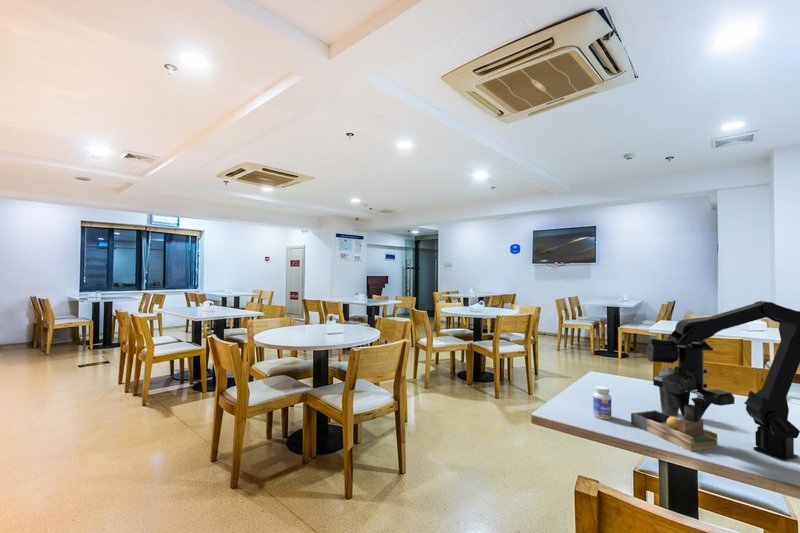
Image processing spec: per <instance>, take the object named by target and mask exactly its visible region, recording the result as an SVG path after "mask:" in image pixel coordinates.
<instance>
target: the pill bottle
mask: <svg viewBox="0 0 800 533" xmlns="http://www.w3.org/2000/svg"><path fill="white" fill-rule="evenodd" d="M609 393H610V388H609V387H607V386H605V385H604V386H603V385H596V386H595V392H594V393H593V396H592V398H593V399H592V400H593V402H592V403H593V404H592V406H593V407H592V410H593V411H592V413H593V414H592V415H593V416H594V417H596V418H597V419H601V420H610V419H611V418H612V395H611V394H609Z"/></svg>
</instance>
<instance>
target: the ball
mask: <svg viewBox="0 0 800 533" xmlns="http://www.w3.org/2000/svg"><path fill="white" fill-rule="evenodd" d="M679 419H680V418H677V417H676V416H672V417H669V418H668V419H667V425H668V426H669V427H670V428H672V429H674V430H677V429H678V420H679Z"/></svg>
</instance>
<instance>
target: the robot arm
mask: <svg viewBox="0 0 800 533" xmlns="http://www.w3.org/2000/svg"><path fill="white" fill-rule="evenodd" d="M765 318H766V319H768V320H771V321H772V322H776V323H779V324H778V332H779V338H780V342H779V344H778V347H777V349H776V352H775V354H774V357H773V360H772V363H771V365H770V367H769V370H768V373H767V376H766V378H765V380H764V382H763V385H762V388H761V389H759V390H758V391H757V392H754V391H752V390H750V391H749V392H748V396H747V399H746V400H745V402H744V403H743V404H744V405H745V406H746V407H745V411H746V412H747V414H748V416H750V417H751V418H752V419H753V422H754V423H755V424H756V425H758V426H757V428H756V429H757V430H756V431H755V437H754V438H755V441H754V443H755V446H753V448H752V449H753V450H755V451H757V452H760V453H762V454H765V455H767V456H770V457H771V458H772V457H773V458H775V459H778V460H779V461H780V460H781V461H787V460H792V459H797V458H799V456H798V454H795V445H794V444H795V442H794V441H795V439H798V438H799V434H800V430H799V429H798V427H796V426H795V425H794V424H793V423H792V422H790V421H789V420H788V419H789V414H790V409H789V404H788V399H787V398H788V397H787V396H788V395H789V392H790V389H791V387H792V384H793V382H794V380H795V377H796V374H797V372H798V369H799V366H800V311H799V310H795V309H792V308H789V307H786V306H781V305H780V304H776V303H774V302H771V301H766V300H765V301H764V300H760V301H759V300H758V301H756V302H753V303H750V304H748V305H745V306H740V307H738V308H735V309H731V310H729V311H728V310H727V311H725V312H720V313H718V314H715V315H712V316H706V317H705V316H704V317H692V318H686V319H681V320H679V321H678V322H677V323H676V324H675V329H674V330H673V331H672V332H671V333H670V334H669V336H668V337H667V338H666V339H662V338H661V339H659V338H655V337H649V342H648V344H647V347H646V357H647V359H648V360H647V361H649V362H651V363H663V364H666V363H668V364H674V363H675V362H677V366H676V365H675V366H674V368H673V369H674V373H673V374H669V375H661V376H658V375H656V376H654V377H653V379H652V382H653V384H652V385H653V386H655V387H658V388H659V387H661V388H663V387H664V389H665V390H666V391H667V392H669V393H670V394H672V395H673V396H674V397H675V399H676V401H677V404H678V406H679V412H680V414H681V416H682V418H684V404H690V396H691V393H692V394H695V395H696V397H692V398H691V401H692V402H693V405H694V418H695V421H696V422H699V421H700V419H702V417H703V416H704V414H705V413H706V411H707V409H708V408H710V406H711V405H715V406H728V405H729V406H730V405H735V396H734V395H733V393H732V392H730V391H726V390H722V389H719V388H715V389H707V387H708V383H705V382H704V380H705V379H704V378H705V377H704V374H707V373H708V370H707V369H706V368H704V364H705V363H704V361H705V360H704V353H705V352H704V351H712V352H713V351H714V348H713V347H711V346H710V345H709V344H708V342H707V341H705V340H708V339H710V338H712V337H713V336H715V335H716V334H717V333H719V332H721V331H724V330H727V329H731V328H735V327H738V326H742V325H744V324H747V323H751V322H755V321H759V320H761V319H765Z"/></svg>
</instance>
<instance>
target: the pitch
mask: <svg viewBox="0 0 800 533" xmlns="http://www.w3.org/2000/svg"><path fill="white" fill-rule="evenodd" d="M670 417H673V416H670ZM678 419H679V420H681V419H680V418H678ZM646 432H647V433H649V434H652V435H654V436H657V437H659V438H660V439H663V440H665V441H667V442H670V443H672V444H674V445H676V446H678V447H681V448H682V449H685V450H687V451H690V452H696V451H700V450H706V449H707V448H708V449H712V448H717V447H718V433H716V432H714V431H711V430H708V429H706V428H703V434H701V435H695V436H689V435H686V434H684V433H681V432H679V431H678V429H677V430H674V429H672V428H670V427H669V426H668V425H667V422H664V423H657V422H655V421H653V420H650V419H647V431H646ZM708 449H707V450H708Z"/></svg>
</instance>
